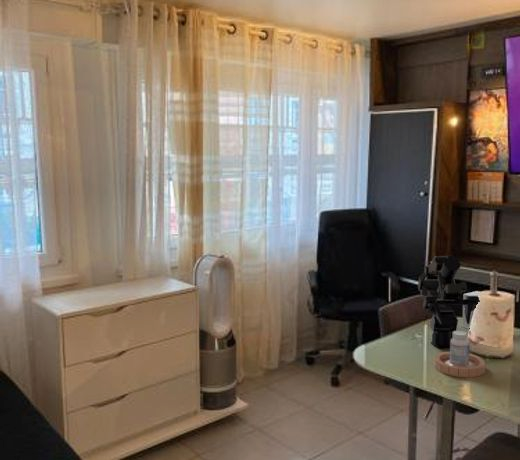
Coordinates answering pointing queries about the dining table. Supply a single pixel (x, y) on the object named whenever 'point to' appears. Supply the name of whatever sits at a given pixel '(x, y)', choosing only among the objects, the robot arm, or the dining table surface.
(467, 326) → the skincare box
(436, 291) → the robot arm
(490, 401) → the dining table surface
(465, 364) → the pill bottle
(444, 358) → the round dish
